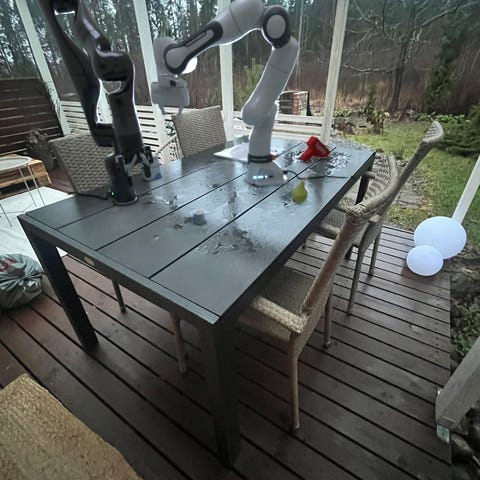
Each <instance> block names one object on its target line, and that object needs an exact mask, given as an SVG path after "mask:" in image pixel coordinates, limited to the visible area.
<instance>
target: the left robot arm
mask: <svg viewBox="0 0 480 480" xmlns="http://www.w3.org/2000/svg"><path fill="white" fill-rule="evenodd" d="M35 1H36V4H37V6H38V9H39V10H40V12H41V15H42V16H43V18H44V20H45V23H46V26H47V28H48V30H49V31H50V33H51V36H52V38H53V40H54V42H55V45H56V47H57V49H58V53H59V55H60V58H61V61H62V63H63V65H64V68H65V71H66V73H67V76H68V78H69V80H70V83H71V85H72V88H73V90H74V92H75V94H76V96H77V99H78V101H79V104H80V106H81V109H82V112H83V114H84V115H83V116H84V117H85V121H86V123H87V126H88V130H89V134H90V136H91V138H92V141H93V143H94V144H95V145H96V147H98V148H103V149H104V148H107V149H108V148H110V149H111V148H113V153H111V154H108V155H105V157H104V158H103V163H104V164H103V165H104V167H105V171H106V174H107V178H108V186H109V190H106V195H105V197H103V196H100V195H98V194H95V193H94V194H93V193H83V192H77V191H73V190H72V191H69V192H68V193H67V196H70V195H71V194H75V195H77V196H78V195H79V196H86V197H96V198H99V199H101V200H107V199H108V198H109V199H112V200H113V202H114V203H115V204H116V206H117V205H118V206H128V205H133V204H134V203H136V202H138V201H137V200H138V197H137V195H136V194H137V192H136V189H135V186H134V181H133V178H132V170H134V167H135V166H137V165H138V164H140V163H141V164H142V165H143V166H144V167H143V170H144V174H145V177H146V178H150V177H151V170H150V166H151V164H152V163H154V160H153V156H152V155H153V152H152V148H151V145H148V144H147V145H146V144H145V142H144V138H143V133H142V127H141V124H140V123H141V122H140V120H139V117H138V112H137V107H136V102H135V78H136V76H135V75H136V69H135V64H134V60H133V59H132V57H131V56H130V54H128V53H127V52H126V51H124V50H113V45H112V42H111V40H110V39H109V38H108V36H107V34H105V32H104V31H103V30H102V29H101V27H100V25H98V23H97V21H96V20H95V19H94V17H93V15H92V14H91V12H90V10H89V8H88V6H87V4H86V1H85V0H35ZM72 13H74V14H73V19H72V30H73V34H74V36H75V39H76V40H77V42H78V43H79V45H80V46H81V47H82V48H81V47H80V46H79V45H78V44H77V43H76V42H75V40H73V38H72V37H71V36H70V35H69V34H68V33H67V32H66V30H65V29H64V27H63V25H62V24H61V22H60V20H59V18H58V16H57V15H63V14H65V15H66V14H72ZM102 82H103V83H115V82H116V83H118V82H119V88H118V89H117V90H114V91H111V92H109V93H107V96H106V97H107V103H108V106H109V110H110V114H111V115H110V116H111V119H112V121H111V122H101V120H100V117H99V113H98V106H99V102H100V98H101V94H102V89H103V88H102V87H103V86H102ZM149 158H150V159H149ZM141 164H140V165H141Z"/></svg>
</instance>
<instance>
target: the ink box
mask: <svg viewBox="0 0 480 480" xmlns="http://www.w3.org/2000/svg"><path fill="white" fill-rule="evenodd" d="M152 156H153V160H154V163H152V164H151V166H150V170H151V177H150V178H146V177H145V174H144V170H143V167H144V166H143V165H142V164H141V163H140V168H141V173H142V178H143V180H145V181H148V182H149V181H152V180H153V181H154V180H156V179H159V178H162V173H161V167H160V160H159V156H158V155H156V154H152ZM149 159H150V158H149Z"/></svg>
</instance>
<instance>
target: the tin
mask: <svg viewBox="0 0 480 480" xmlns="http://www.w3.org/2000/svg"><path fill="white" fill-rule="evenodd" d="M193 222H194V224H195V225H203V224H205V223H206V217H205V211H204V210H201V209H197V210H194V211H193Z"/></svg>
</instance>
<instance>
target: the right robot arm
mask: <svg viewBox="0 0 480 480" xmlns="http://www.w3.org/2000/svg"><path fill="white" fill-rule="evenodd" d="M291 25H292V24H291V18H290V14H289V12H288V10H287V9H286V7H284V6H283V5H281V4H275V3H273V4H264V2H263V0H233V1H232V2H230V3H229V4H228V5H227V6H225V7H224V8H222V9H221V10H220V12H218V13H217V14H216V15H215V16H214V17H213V18H212V19H211V20H210V21H209V22H207V24H205V26H202V27H201V28H200V29H198V30H197V31H196V32H194V33H193V34H191V35H190V36H189V37H187V38H186V39H184V40H183V41H181V42H178V41H176V40H174V39H173V38H172V37H171V36H169V35H163V36H157V37H156V38H154V39H153V41H152V57H153V62H154V65H155V76H156V81H152V82H151V83H150V101H151V103H152V104H153V105H158V108H159V110H160V112H161V116H167V115H168V113H167V110H166V109H165V106H177V109H178V111H177V112H176V116H177V117H182V116H183V110H184V107H187V106H189V105H190V102H191V101H190V94H189V93H190V92H189V89H188V87H187V86H188V82H187V81H186V80H185V79H183V78H180V77H179V76H178V75H181V74H188V73H191V72H193V71H195V70H196V68H197V63H198V57H197V56H199V55H201V54H202V53H203V52H205V51H206V50H207V49H210V48H212V47H215V46H223V45H226V46H227V45H230V44H232V43H235V42H237V41H239V40H240V39H242V38H243V37H244V36H246V35H247V34H249V33H250V32H252V31H254V30H259V31H260V32H261V33H262V36H263V37H264V39H265V40H266V41H267V42H268V43H269V44H270V45H271V47H272V48H271V52H270V55H269V57H268V60H267V62H266V65H265V67H264V70H263V72H262V75H261V77H260V80H259V82H258V83H257V85H256V87H255V88H254V90H253V92H252V93H251V95H250V97H249V98H248V100H247V101H246V103H245V104H243V106H242V108H241V111H240V112H241V113H240V117H241V120H242V122H243V123H244V124H245V125H246V126H250V127H251V131H250V132H249V133H250V134H249V136H248V143H249V152H248V155H247V163H246V164H247V171H246V175H245V177H244V179H245V180H244V181H245V182H246V183H249V184H252V185H255V186H257V187H267V186H279V185H286V184H288V182H289V181H288V180H289V179H288V177H287V175H288V173H292V174H294V175H295V176H296V178H297V179H298V180H305V179H306V178H307V177H299V176H298V173H297V172H295V171H293V170H290V169H288V168H287V167H283V166H281V165H280V164H279V163H277V162H276V161H275V160H276V158H277V156H274V155H273V154H272V153H270V151H271V146H272V135H273V130H274V126H275V122H276V118H277V116H278V114H279V111H280V110H279V103H278V102H277V100H278V98H279V97H280V96H281V95H282V94H283V92H284V90H285V88H286V85H287V84H288V81H289V79H290V77H291V74H292V72H293V71H294V68H295V66H296V62H297V60H298V57H299V53H300V43H299V42H298V40H297V39H296V38H295V37H293V36H292V35H291V27H292V26H291ZM320 178H333V179H346V178H348V177H345V176H335V175H318V176H317V175H316V176H310V177H309V178H307V179H306V180H309V179H320ZM350 178H351V179H354V178H355V177H354V176H353V175H351V177H350Z"/></svg>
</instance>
